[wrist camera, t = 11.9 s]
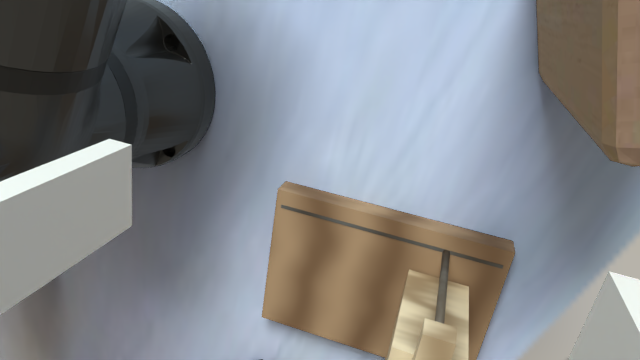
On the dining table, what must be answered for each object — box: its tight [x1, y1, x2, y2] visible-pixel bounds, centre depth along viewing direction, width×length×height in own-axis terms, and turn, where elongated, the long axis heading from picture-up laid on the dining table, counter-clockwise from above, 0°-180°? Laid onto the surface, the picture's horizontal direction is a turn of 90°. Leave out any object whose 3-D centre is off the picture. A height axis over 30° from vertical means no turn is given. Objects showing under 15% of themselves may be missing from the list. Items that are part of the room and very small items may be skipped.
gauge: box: [385, 250, 469, 360], centre depth 37 cm, size 5×14×13 cm, turn 170°
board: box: [262, 181, 515, 360], centre depth 43 cm, size 20×14×2 cm
